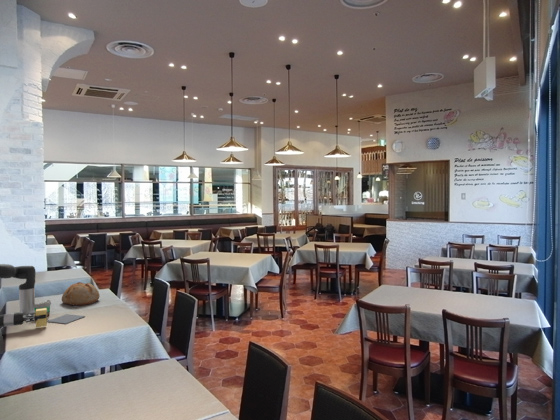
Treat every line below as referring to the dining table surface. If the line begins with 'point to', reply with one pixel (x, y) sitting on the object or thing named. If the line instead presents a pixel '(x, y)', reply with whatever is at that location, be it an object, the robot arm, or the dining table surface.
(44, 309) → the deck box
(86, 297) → the bread
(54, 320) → the mat
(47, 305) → the food container
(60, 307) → the dining table surface
